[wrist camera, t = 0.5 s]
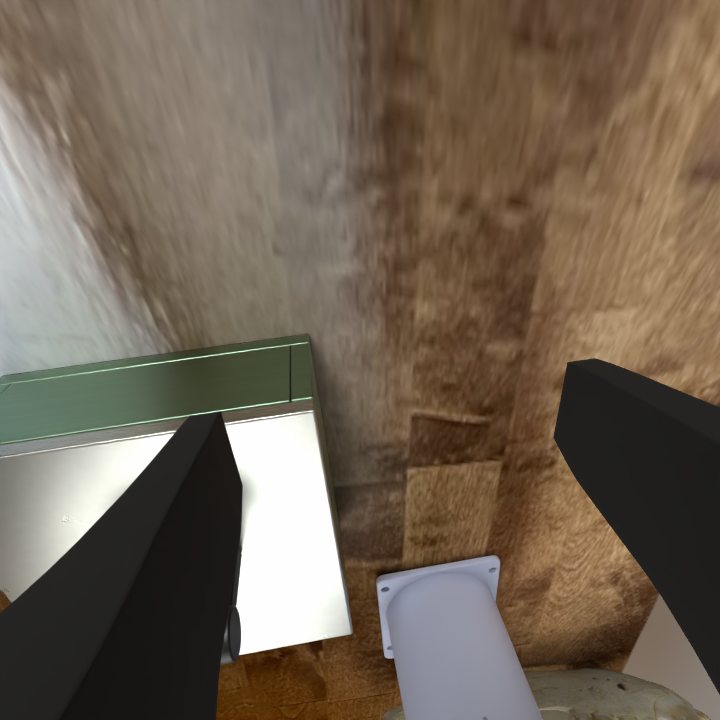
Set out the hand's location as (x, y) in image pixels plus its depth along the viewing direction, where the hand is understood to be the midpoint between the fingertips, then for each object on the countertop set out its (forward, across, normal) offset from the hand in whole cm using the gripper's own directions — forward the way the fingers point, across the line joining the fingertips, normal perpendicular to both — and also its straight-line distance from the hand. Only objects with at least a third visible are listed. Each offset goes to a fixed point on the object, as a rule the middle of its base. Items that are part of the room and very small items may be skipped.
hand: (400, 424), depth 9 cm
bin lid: (+5, +8, +9) cm, 13 cm away
